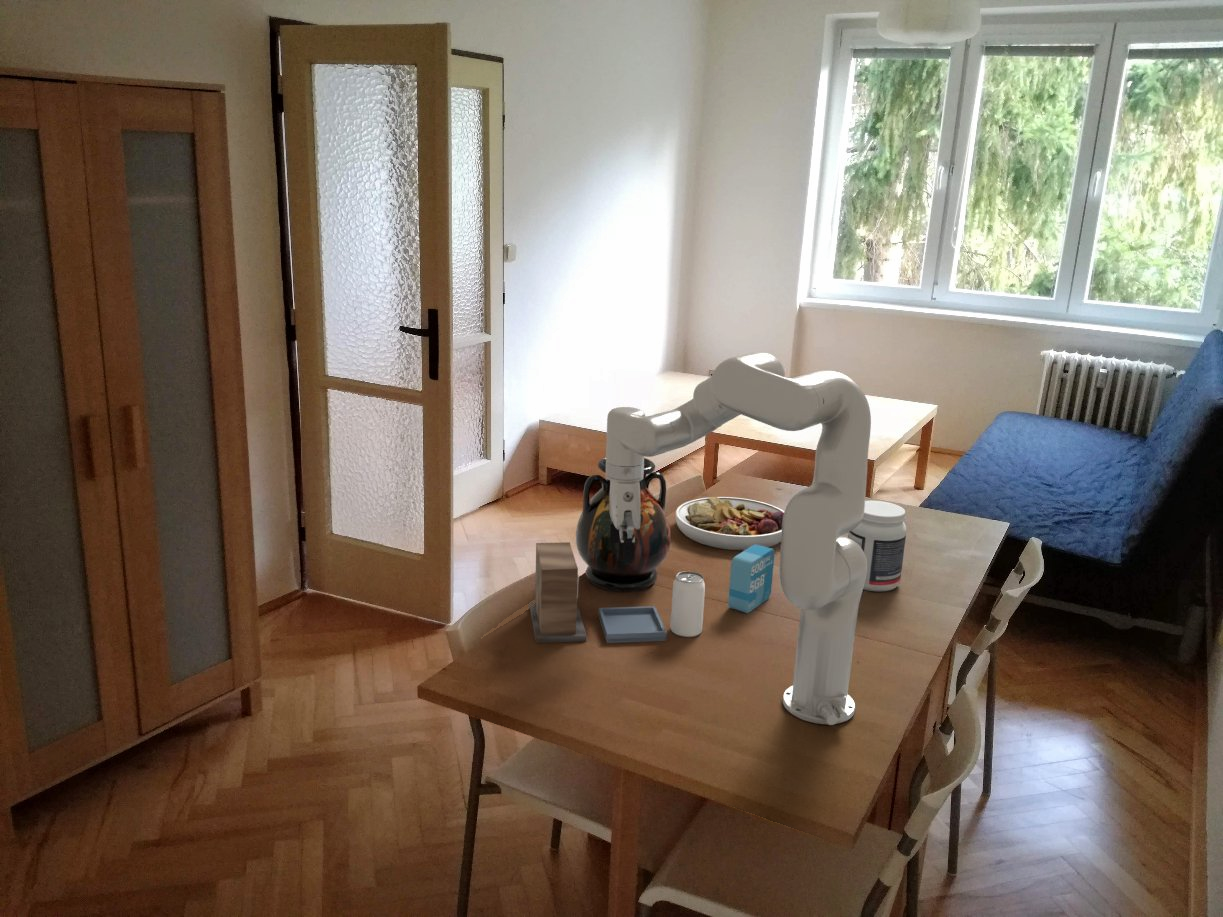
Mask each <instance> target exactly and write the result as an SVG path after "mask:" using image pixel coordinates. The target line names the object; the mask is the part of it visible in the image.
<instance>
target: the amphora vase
mask: <svg viewBox="0 0 1223 917" xmlns="http://www.w3.org/2000/svg"><path fill="white" fill-rule="evenodd" d="M597 468H598V469H599V470H600V471H601V472H603V473H605V474H606V456H605V457H602V458H601V459H600V460H598V462H597ZM655 470H656V465H655V463H654V462H653V461H652V460H651V459H648V458H647V457H644V475H643V480H641V481H639V483H640V529H639V530H637V529H635V528H634V535H635V554H634V560H633V561H619V560H618V543H611V542H610V524H611V517H610V513H609V496H610V480H608V479H607V478H606V477H604V476H602V475H601V474H592V475H590V476H588V477H587V479H586V480H585V483H584V487H583V501H582V502H583V503H582V511H581V514H580V516H579V519H578V521H577V525H576V529H575V545H576V549H577V551H578V555H579V556H580V557H581V559H582V560H583V562H584V563H585V564H586V565H587V567H586V570H585V576H586V578H587V580H588V581H589V582H591V584H593V585H595V586H596V587H599V588H601V589H604V590H609V591H613V592H614V591H615V592H635V591H639V590H643V589H647V588H649V587H651V586H652V585H653V584H654V583H655V582H656V581H657V579H658V572H657V569H658V567H659V566H661V564H662V563H663V562H664V560H665V559H666V558H667V555H668V553H669V551H670V546H671V537H672V534H671V533H672V532H671V528H670V523H669V521H668V518H667V515H666V498H667V481H666V479H665V477H664V475H663V474H662V473H661V472H659V471H655ZM653 479H658V481H659V495H658V499H657V497H655V496H654V494H653V493H652V492H651V491H650V490H649V487H650V482H652V480H653ZM597 481H599V482H600V483H601V487H600V489H599V490H598V491H597V492H596V493H595V494H594V495H593V496H592V497H591V498H590V493H591V488H592V485H593V483H595V482H597Z"/></svg>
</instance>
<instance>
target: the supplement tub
mask: <svg viewBox="0 0 1223 917" xmlns="http://www.w3.org/2000/svg"><path fill="white" fill-rule="evenodd" d="M905 520H906V510H905V509H904V508H903V507H902V506H900V505H898V504H895V503H892V502H889V501H884V500H883V501H882V500H865V509H864V515H863V519H862V521H861V522H860V524H859V525H858V526H857V527H856V528H854V529H853V530H851V531H850V532H848V533H847V538H849V539H851V540H853V541H855V542H856V543H857V544H858V545H859V546H860V547H861V548H862V550H863V552H864V554H865V557H866V561H867V575H866V580H865V584H864V588H863V590H864V591H869V592H870V591H871V592H888V591H892V590H894V589H896V588H897V587H899V585H900V583H901V581H902V580H901V577H902V570H903V562H904V552H905V545H906V538H907V531H908V530H907V526H906V525H907V524H906V523H905V522H904V521H905Z"/></svg>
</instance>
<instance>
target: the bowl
mask: <svg viewBox="0 0 1223 917" xmlns="http://www.w3.org/2000/svg"><path fill="white" fill-rule="evenodd" d="M784 511H785V510H783V509H781V508H779V507H777V506H774V505H773V504H769V503H766V502H763V501H758V500H756V499H755V500H754V499H750V498H741V497H732V496H731V497H730V496H713V497H711V496H710V497H702V498H697V499H692V500H688V501H686V502H684V503H681V505H679V506H678V507H677V509H676V510H675V522H676V524H677V527H678V529H679V530H680V532H681V533H683V535H685V536H686V537H687V538H689V539H691V540H692V541H693V542H694V541H695V542H697V543H699V544H701V545H705V546H708V547H711V548H716V549H722V550H729V551H730V550H731V551H745V550H746V549H748V548H750V547H751V546H753V545H755V544H756V545H760V546H764V547H767V548H771V547H773V546H776V545H778V544H780V543H781V536H782V521H783V515H784Z"/></svg>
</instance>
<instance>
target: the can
mask: <svg viewBox="0 0 1223 917" xmlns="http://www.w3.org/2000/svg"><path fill="white" fill-rule="evenodd" d="M705 589H706V584H705V581H704V576H703V575H702V574H701V573H699V572H696V571H691V570H690V571H687V570H686V571H680V572H678V573H676V574H675V579H674V580H673V584H672V593H671V594H672V595H671V611H670V630H671V632H672V633H673V634H674V635H675V636H678V637H682V638H693V637H697V636H699V635H700V634H701V633H702V632H703V631H702V630H703V622H704V610H705V609H704V608H705V593H706V592H705Z"/></svg>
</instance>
